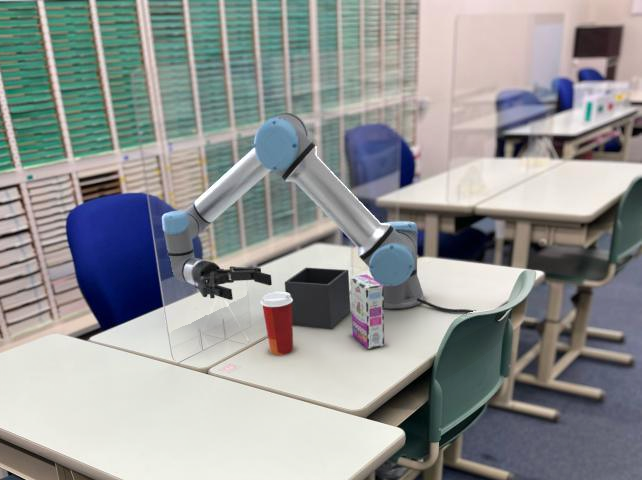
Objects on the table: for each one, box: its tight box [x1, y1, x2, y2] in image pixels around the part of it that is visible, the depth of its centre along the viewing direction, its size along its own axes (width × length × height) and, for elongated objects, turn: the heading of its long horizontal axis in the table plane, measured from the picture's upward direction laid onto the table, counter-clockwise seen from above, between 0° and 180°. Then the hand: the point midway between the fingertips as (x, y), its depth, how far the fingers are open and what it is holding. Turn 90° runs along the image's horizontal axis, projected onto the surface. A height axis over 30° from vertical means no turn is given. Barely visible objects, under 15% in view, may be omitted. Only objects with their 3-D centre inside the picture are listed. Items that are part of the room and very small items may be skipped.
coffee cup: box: [260, 290, 294, 356], centre depth 181 cm, size 8×8×15 cm
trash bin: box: [284, 267, 351, 330], centre depth 200 cm, size 14×14×13 cm
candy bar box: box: [349, 274, 385, 350], centre depth 181 cm, size 11×5×16 cm, turn 18°
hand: (251, 287), depth 183 cm, fingers open, 13 cm apart
